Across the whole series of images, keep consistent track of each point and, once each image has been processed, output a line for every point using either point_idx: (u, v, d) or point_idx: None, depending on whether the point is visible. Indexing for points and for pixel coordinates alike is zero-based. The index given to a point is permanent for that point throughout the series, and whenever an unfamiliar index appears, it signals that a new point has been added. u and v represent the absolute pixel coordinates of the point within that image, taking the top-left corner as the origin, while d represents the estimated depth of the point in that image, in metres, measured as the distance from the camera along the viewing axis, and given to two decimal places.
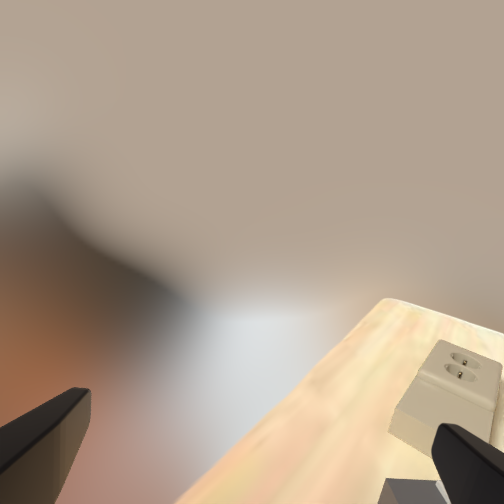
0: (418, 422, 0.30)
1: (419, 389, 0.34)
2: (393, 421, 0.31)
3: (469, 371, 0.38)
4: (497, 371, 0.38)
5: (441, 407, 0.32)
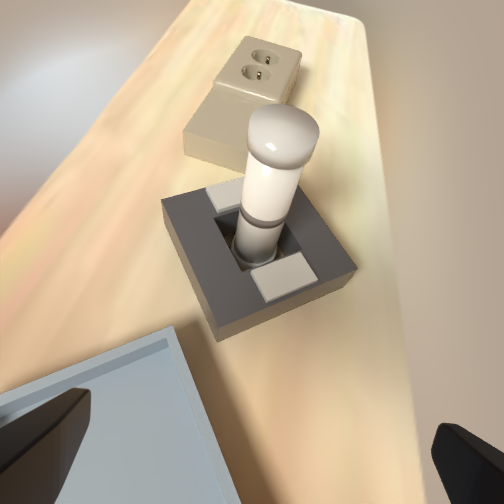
0: (204, 139, 0.30)
1: (212, 103, 0.33)
2: (185, 143, 0.31)
3: (266, 69, 0.36)
4: (293, 62, 0.37)
5: (230, 116, 0.32)
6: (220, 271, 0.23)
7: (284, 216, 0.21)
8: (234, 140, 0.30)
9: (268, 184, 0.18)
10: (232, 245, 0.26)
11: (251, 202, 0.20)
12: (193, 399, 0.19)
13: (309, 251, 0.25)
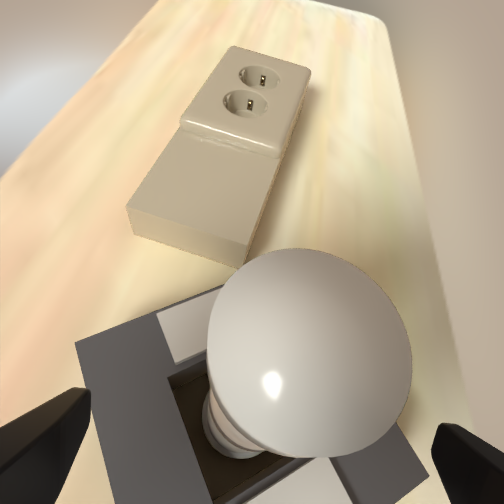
0: (160, 219, 0.19)
1: (177, 154, 0.21)
2: (133, 222, 0.20)
3: (260, 96, 0.24)
4: (300, 85, 0.26)
5: (205, 176, 0.21)
6: None
7: None
8: (209, 219, 0.19)
9: None
10: (203, 413, 0.15)
11: (228, 431, 0.09)
12: None
13: None
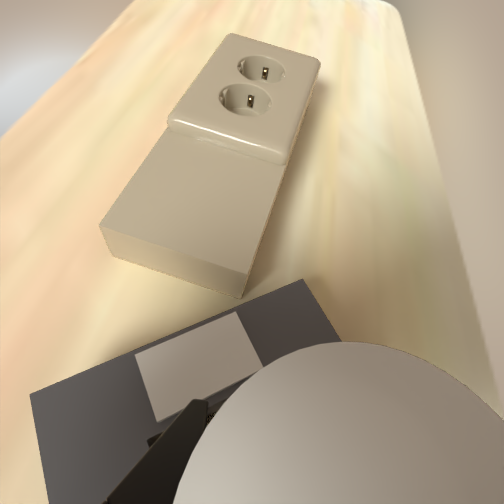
0: (141, 241, 0.15)
1: (163, 161, 0.18)
2: (109, 243, 0.16)
3: (262, 91, 0.21)
4: (308, 78, 0.22)
5: (196, 187, 0.17)
6: None
7: None
8: (201, 241, 0.16)
9: None
10: None
11: None
12: None
13: None
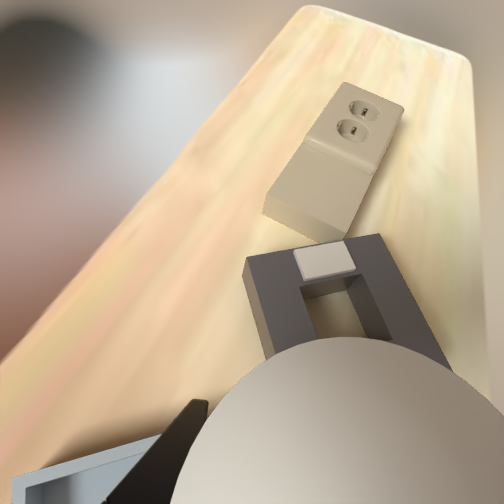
0: (288, 206, 0.27)
1: (300, 162, 0.30)
2: (266, 205, 0.29)
3: (363, 126, 0.32)
4: (395, 120, 0.33)
5: (319, 181, 0.29)
6: None
7: None
8: (321, 211, 0.27)
9: None
10: None
11: None
12: None
13: (400, 343, 0.22)
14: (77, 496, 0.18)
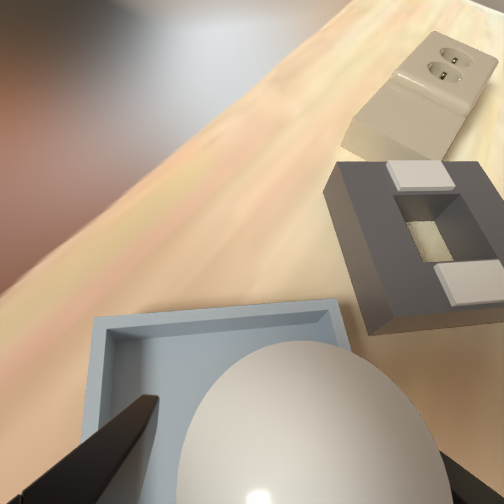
0: (375, 132, 0.25)
1: (388, 95, 0.28)
2: (348, 133, 0.27)
3: (456, 70, 0.30)
4: (489, 69, 0.31)
5: (408, 114, 0.27)
6: (398, 254, 0.19)
7: None
8: (412, 141, 0.25)
9: None
10: None
11: None
12: None
13: None
14: (150, 359, 0.17)
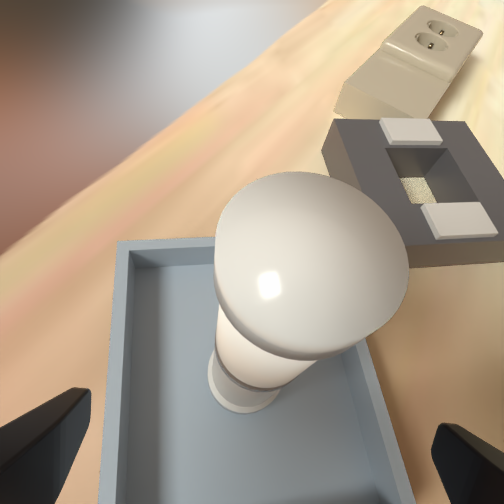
0: (365, 95, 0.27)
1: (377, 63, 0.30)
2: (340, 98, 0.29)
3: (442, 40, 0.32)
4: (474, 39, 0.33)
5: (396, 79, 0.29)
6: (388, 197, 0.21)
7: None
8: (399, 103, 0.27)
9: (270, 363, 0.08)
10: (209, 370, 0.16)
11: (233, 365, 0.09)
12: None
13: (487, 206, 0.22)
14: (166, 283, 0.19)
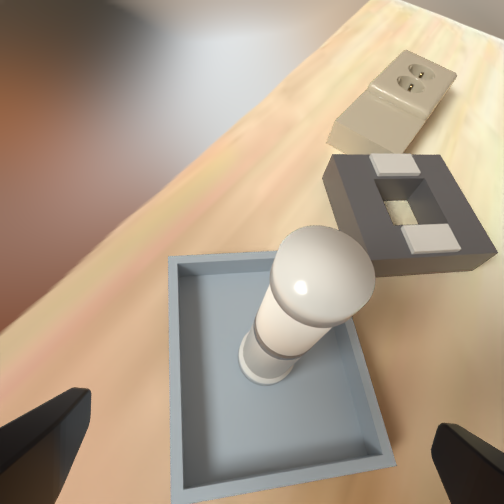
0: (352, 132, 0.33)
1: (364, 103, 0.35)
2: (331, 133, 0.34)
3: (420, 83, 0.38)
4: (448, 81, 0.38)
5: (379, 118, 0.34)
6: (375, 220, 0.27)
7: (312, 345, 0.16)
8: (380, 139, 0.33)
9: (298, 333, 0.13)
10: (241, 352, 0.21)
11: (271, 338, 0.15)
12: None
13: (454, 226, 0.27)
14: (203, 288, 0.24)
